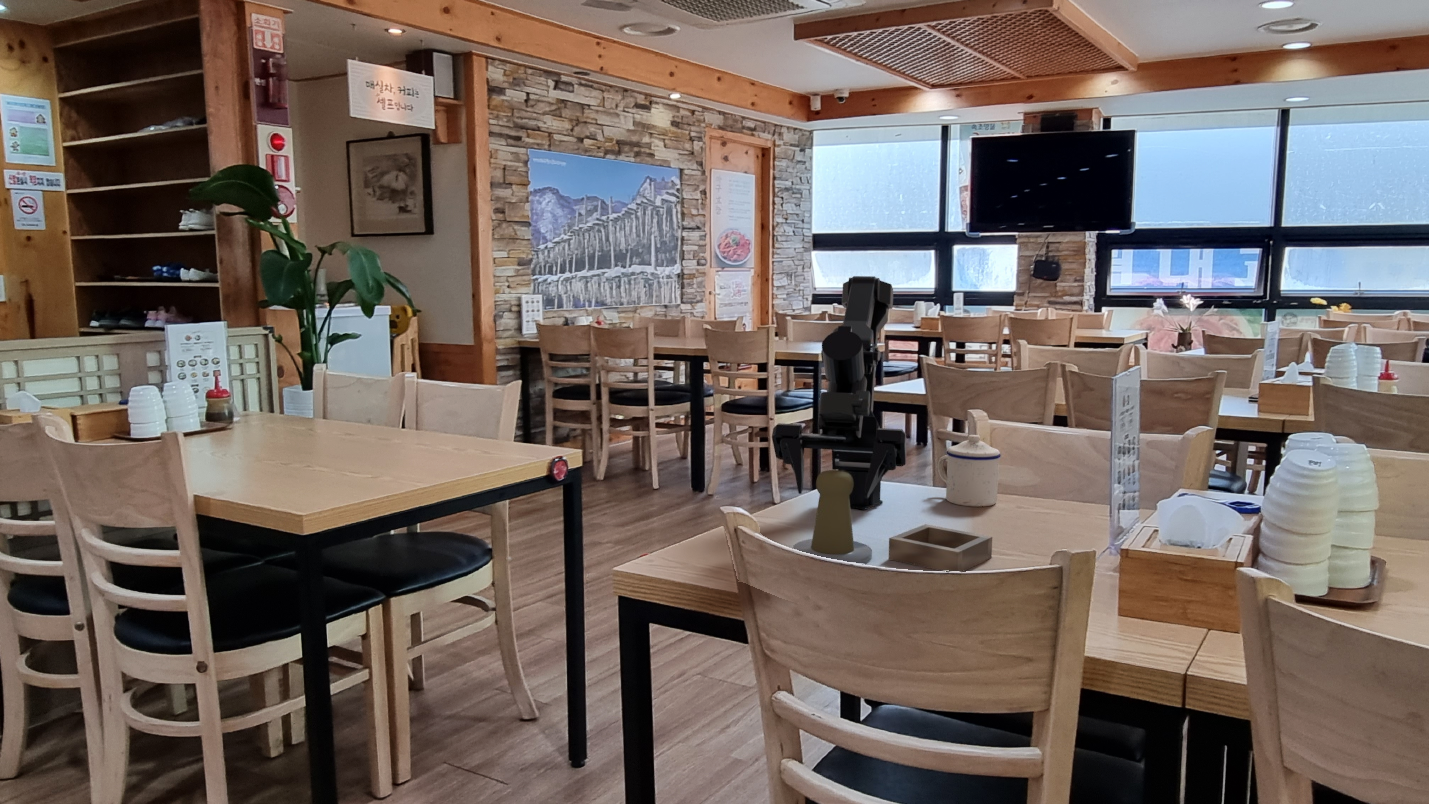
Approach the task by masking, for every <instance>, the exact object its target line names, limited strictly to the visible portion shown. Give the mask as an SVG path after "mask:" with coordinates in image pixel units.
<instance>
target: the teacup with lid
mask: <svg viewBox="0 0 1429 804" xmlns="http://www.w3.org/2000/svg"><path fill="white" fill-rule="evenodd" d="M1001 456H1002V455H1001V452H1000V450H999V449H997V448H996V447H991V446H990V445H989V444H988V443H986V442H984V441H982V440H981V437H980V435H978V434H969V435H968V437H967V440H963V441H962V442H960V443H958V444H956V445H951V446H949V447H948V448H947V450H946V455H943V456H941V457H940V458H939V460H938V462H937V470H938V474H939V476H940V478H941V480H942V481H943V482H944V483H946V489H945V491H946V492H945V499H946V500H947V502H949V503H952V504H955V505H958V506H963V507H964V506H965V507H978V508H979V507H980V508H981V507H982V506H983V507H990V506H993V505H995V504H996V503H997V501H998V488H999V485H998V484H999V465H1000V458H1001ZM946 460H947V463H946V464H947V465H946V466H947V467H946V469H947V470H946V471H945V462H946Z"/></svg>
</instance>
